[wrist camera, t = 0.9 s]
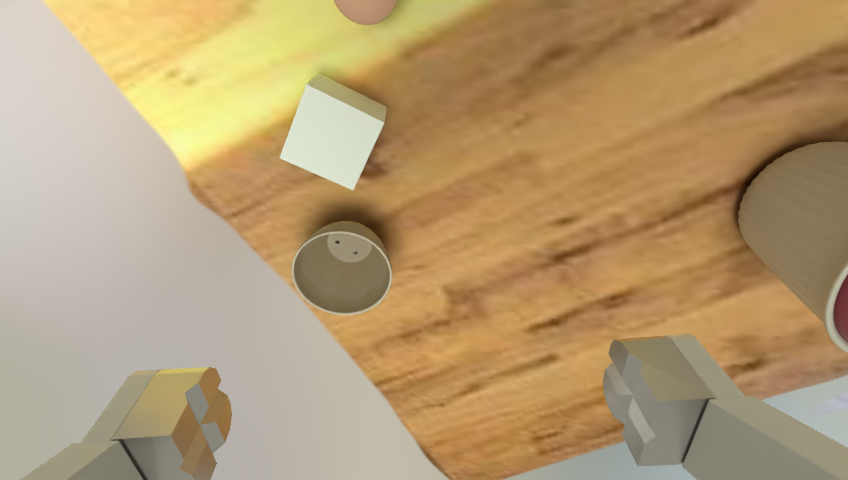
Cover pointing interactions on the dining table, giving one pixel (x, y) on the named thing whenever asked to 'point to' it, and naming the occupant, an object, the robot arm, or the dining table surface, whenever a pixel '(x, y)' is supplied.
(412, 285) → the dining table surface
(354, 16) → the terracotta cylinder
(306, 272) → the flower pot
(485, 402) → the dining table surface
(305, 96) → the grey block
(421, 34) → the dining table surface
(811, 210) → the canister
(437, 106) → the dining table surface
